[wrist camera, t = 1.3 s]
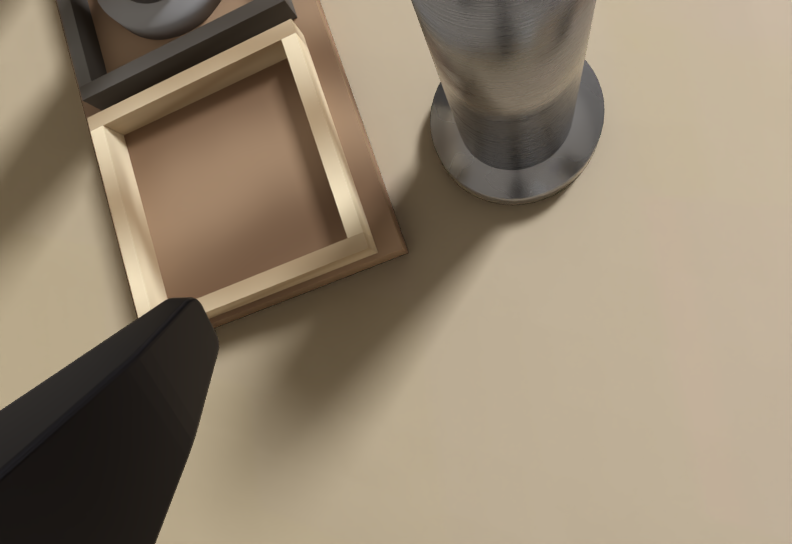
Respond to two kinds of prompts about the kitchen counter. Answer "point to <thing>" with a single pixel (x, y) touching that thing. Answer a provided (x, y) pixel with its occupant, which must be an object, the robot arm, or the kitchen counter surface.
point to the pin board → (228, 150)
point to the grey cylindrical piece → (512, 94)
